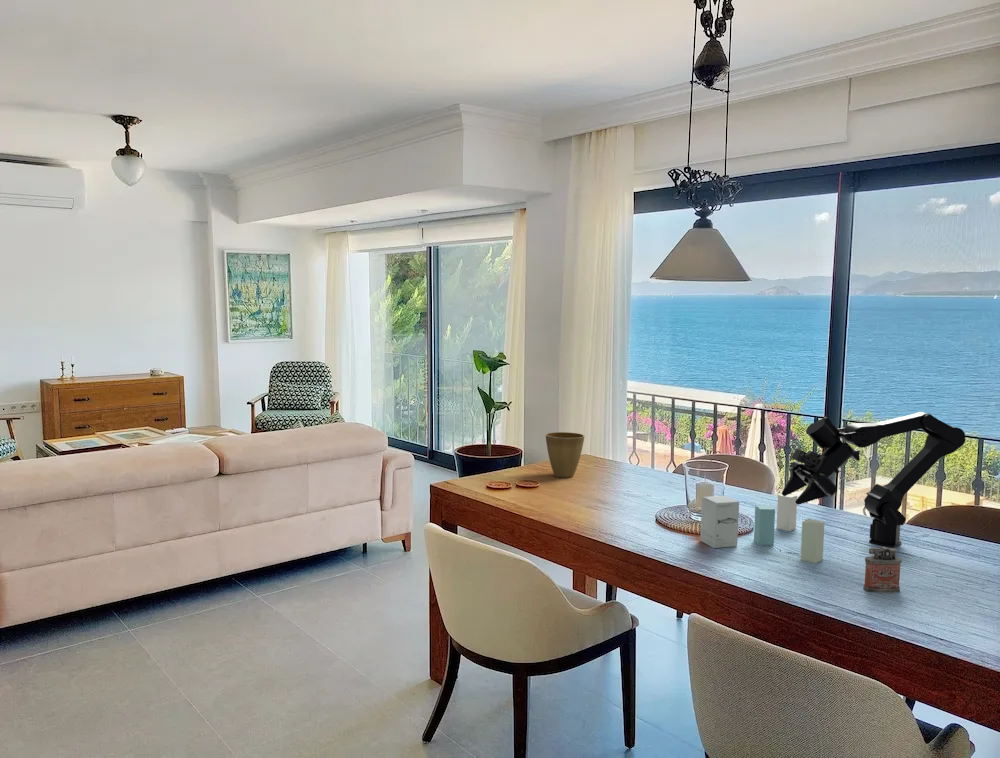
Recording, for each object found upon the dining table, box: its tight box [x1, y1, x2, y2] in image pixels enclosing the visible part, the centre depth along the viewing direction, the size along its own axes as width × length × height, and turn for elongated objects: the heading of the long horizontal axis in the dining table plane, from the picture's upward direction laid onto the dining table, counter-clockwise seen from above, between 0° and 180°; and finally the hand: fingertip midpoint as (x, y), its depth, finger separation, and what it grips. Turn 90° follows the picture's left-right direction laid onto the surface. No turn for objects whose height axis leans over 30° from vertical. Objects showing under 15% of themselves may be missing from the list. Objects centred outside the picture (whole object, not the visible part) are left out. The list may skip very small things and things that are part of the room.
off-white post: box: [776, 493, 798, 532], centre depth 217 cm, size 4×4×10 cm
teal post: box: [753, 505, 776, 546], centre depth 203 cm, size 4×4×10 cm
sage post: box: [800, 518, 825, 564], centre depth 190 cm, size 4×4×10 cm
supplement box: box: [699, 495, 740, 549], centre depth 202 cm, size 7×7×13 cm
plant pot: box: [545, 431, 585, 479], centre depth 284 cm, size 15×15×16 cm
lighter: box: [863, 546, 902, 594], centre depth 169 cm, size 8×3×10 cm, turn 92°
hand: (789, 499), depth 203 cm, fingers open, 9 cm apart
